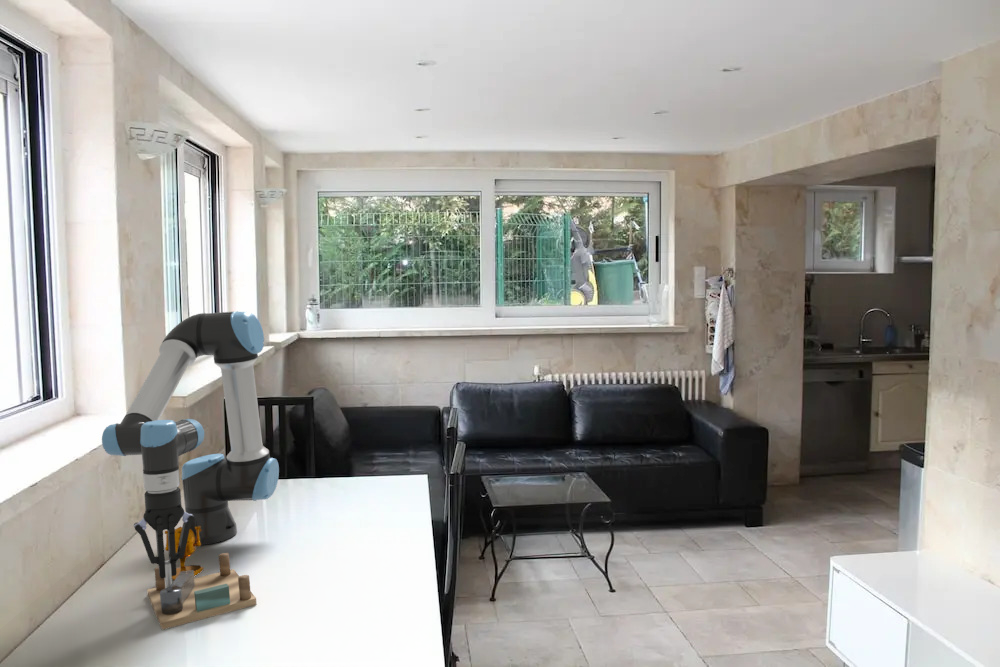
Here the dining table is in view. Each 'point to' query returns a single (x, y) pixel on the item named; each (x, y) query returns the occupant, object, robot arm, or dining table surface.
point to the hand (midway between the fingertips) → (169, 590)
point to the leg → (177, 592)
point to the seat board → (190, 601)
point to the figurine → (186, 550)
